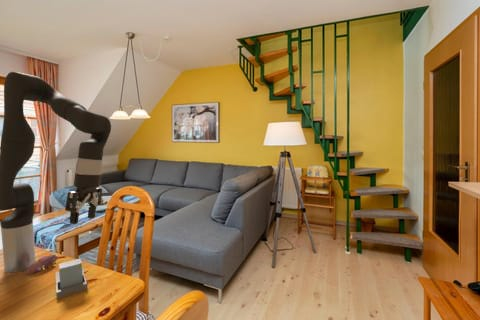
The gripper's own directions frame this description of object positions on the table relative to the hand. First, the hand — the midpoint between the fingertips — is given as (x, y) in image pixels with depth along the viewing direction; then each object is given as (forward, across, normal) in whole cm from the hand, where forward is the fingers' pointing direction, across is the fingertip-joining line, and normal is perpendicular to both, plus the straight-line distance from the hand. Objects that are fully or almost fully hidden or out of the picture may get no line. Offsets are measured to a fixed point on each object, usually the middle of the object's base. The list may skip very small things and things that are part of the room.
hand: (82, 220), depth 81 cm
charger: (+22, 0, -1) cm, 23 cm away
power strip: (+24, -2, -3) cm, 24 cm away
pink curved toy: (+25, -12, -22) cm, 35 cm away
